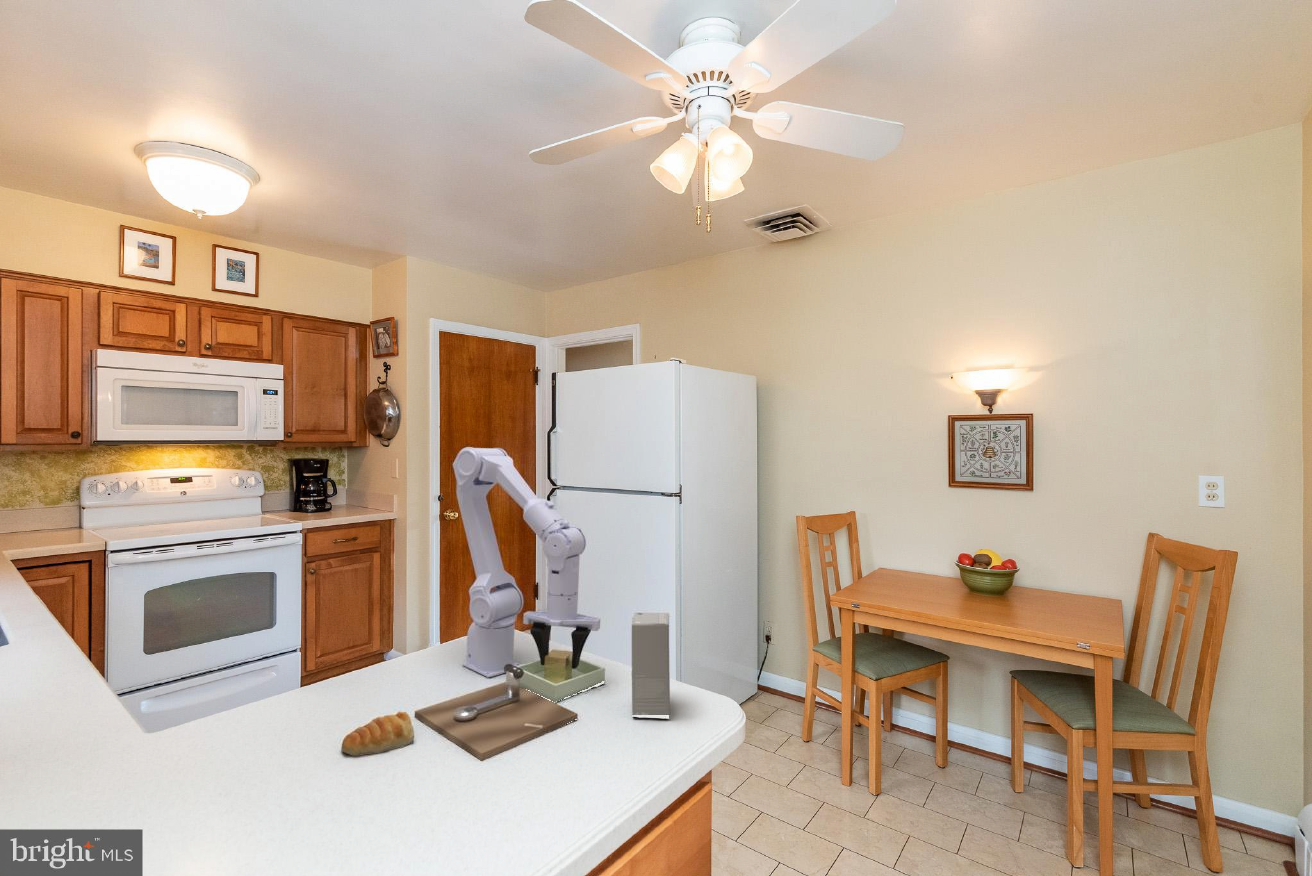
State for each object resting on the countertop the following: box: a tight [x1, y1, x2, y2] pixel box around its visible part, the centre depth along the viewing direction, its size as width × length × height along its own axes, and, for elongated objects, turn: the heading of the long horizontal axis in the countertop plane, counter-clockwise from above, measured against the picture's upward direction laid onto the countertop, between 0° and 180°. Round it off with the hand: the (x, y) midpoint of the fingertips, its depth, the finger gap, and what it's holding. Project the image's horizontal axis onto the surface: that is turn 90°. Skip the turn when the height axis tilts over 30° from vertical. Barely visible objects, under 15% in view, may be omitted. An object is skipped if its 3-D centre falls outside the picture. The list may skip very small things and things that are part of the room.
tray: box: [517, 658, 606, 702], centre depth 112 cm, size 12×12×3 cm
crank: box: [453, 664, 524, 721], centre depth 98 cm, size 12×5×6 cm, turn 139°
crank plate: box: [414, 681, 578, 761], centre depth 97 cm, size 19×18×1 cm
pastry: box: [340, 710, 415, 757], centre depth 88 cm, size 9×7×4 cm
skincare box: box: [631, 612, 671, 716], centre depth 103 cm, size 8×7×16 cm
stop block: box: [544, 649, 573, 684], centre depth 112 cm, size 4×4×5 cm
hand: (559, 665), depth 112 cm, fingers open, 5 cm apart
